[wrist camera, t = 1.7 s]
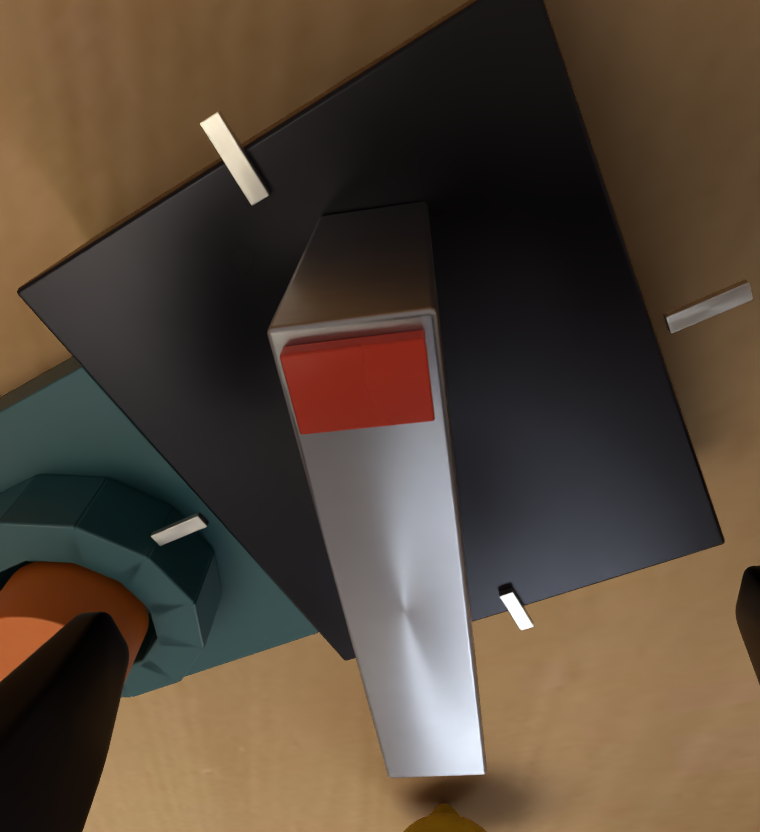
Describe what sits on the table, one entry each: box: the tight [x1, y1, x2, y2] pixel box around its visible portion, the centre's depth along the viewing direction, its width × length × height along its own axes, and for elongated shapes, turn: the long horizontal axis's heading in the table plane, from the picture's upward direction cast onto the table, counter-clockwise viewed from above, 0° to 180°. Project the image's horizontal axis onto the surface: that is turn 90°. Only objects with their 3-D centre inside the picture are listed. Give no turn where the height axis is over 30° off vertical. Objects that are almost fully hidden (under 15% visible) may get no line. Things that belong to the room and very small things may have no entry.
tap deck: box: [17, 0, 753, 660], centre depth 14 cm, size 13×13×3 cm
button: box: [0, 561, 149, 683], centre depth 15 cm, size 4×4×2 cm
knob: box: [267, 202, 487, 778], centre depth 10 cm, size 9×2×5 cm, turn 9°
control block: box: [0, 357, 319, 697], centre depth 17 cm, size 10×8×4 cm
